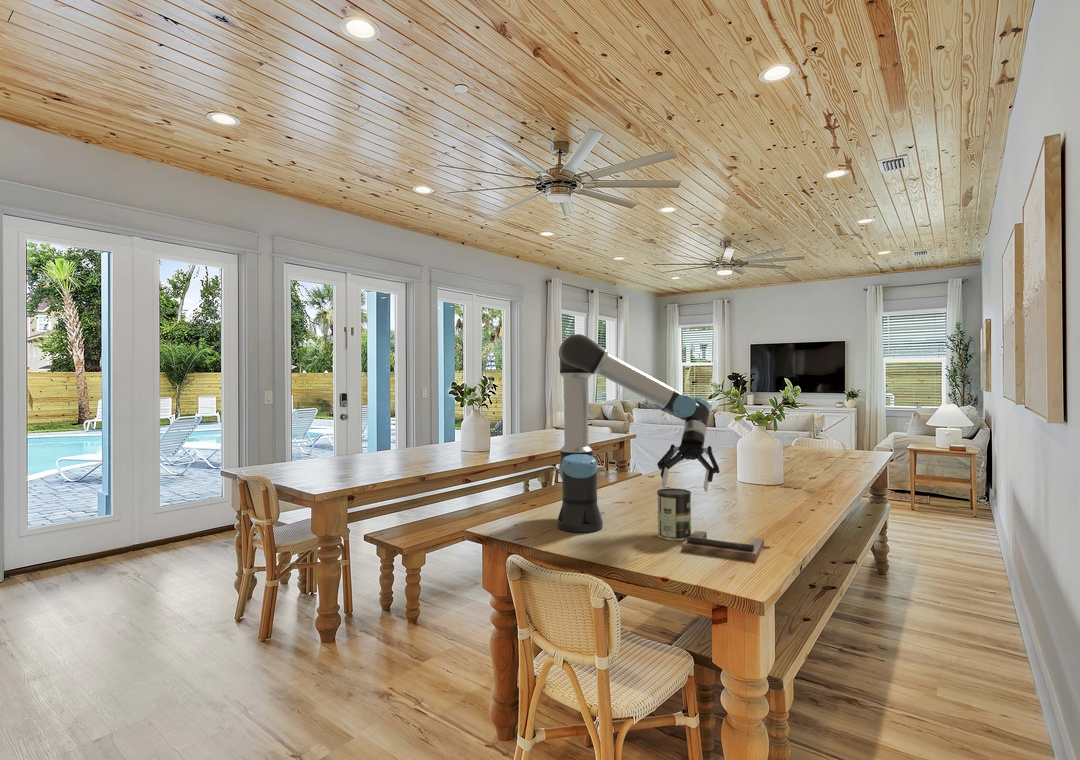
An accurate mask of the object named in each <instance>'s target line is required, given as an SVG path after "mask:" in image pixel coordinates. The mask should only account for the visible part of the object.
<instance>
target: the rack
mask: <svg viewBox="0 0 1080 760" xmlns="http://www.w3.org/2000/svg"><path fill="white" fill-rule="evenodd" d="M707 537H708V535H707V531H704V530H703V531H701V530H694V531H693V532H691V535H690V536H689V537H687V539H686V540H684V541H683V542H682V543H681V551H682V552H685V551H688V552H687V553H693V552H694V553H693V554H700V553H701V555H709V556H715V557H723V558H731V559H737V560H745V561H752V562H757V561H758V558H759V556H760V554H761V553H762V550H763V548H764V546H765V539H764V538H762V537H761V538H760V537H752V536H750V539H749V540H748V542H747V543H742V542H741V543H740V542H733V541H726V540H718V539H710V538H709V539H708V538H707Z"/></svg>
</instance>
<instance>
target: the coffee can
mask: <svg viewBox="0 0 1080 760" xmlns="http://www.w3.org/2000/svg"><path fill="white" fill-rule="evenodd" d="M656 493H657V529H658V531H657V536H658V537H659V538H660V539H662V538H663V540H667V541H673V542H675V541H677V542H680V541H685V540H686V539H687V537H689V536H690V535H691V534H692V516H691V515H692V512H691V511H692V507H691V506H692V505H691V503H692V502H691V501H692V500H691V499H692V498H691V497H692V496H691V495H692V492H691V491H690V490H688V489H683V488H673V487H672V488H670V487H669V488H660V489H657V491H656Z"/></svg>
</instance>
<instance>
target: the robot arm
mask: <svg viewBox="0 0 1080 760" xmlns="http://www.w3.org/2000/svg"><path fill="white" fill-rule="evenodd" d="M558 357H559V374H560V376H562V378H563V379H564V380H563V381H564V382H563V386H564V387H563V388H564V389H563V398H564V399H563V400H564V401H563V402H564V403H563V405H564V408H563V411H564V414H563V416H564V418H563V421H564V423H563V425H564V426H563V427H564V429H563V430H564V431H563V432H564V433H563V434H564V441H563V442H564V445H563V446H562V447H560V449H559V458H560V460H559V468H558V471H559V476H560V478H561V483H562V484H561V485H562V487H561V490H562V491H561V493H562V494H561V495H562V501H561V506H560V511H559V513H558V517H557V523H556V524H557V526H556V527H557V528H558V529H559V530H560V531H564V532H570V533H592V532H596V531H597V532H598V531H600V530H601V529H603V528H604V527H603V524H604V523H603V518H602V515H601V512H600V508H599V504H598V464H597V459H596V458H595V457H594V456H593V449H592V448H591V446H590V445H589V378H590V377H591V376H592V375H596V374H597V375H600V376H602V377H603V378H605V379H607V380H609V381H611V382H613V383H615V384H617V385H618V386H620V387H622V388H624V389H626V390H628V391H630V392H632V393H634V394H635V395H638V396H639V397H641V398H643V399H645V400H647V401H649V402H651V403H653V404H654V407H655V408H656V409H658V410H660V411H661V412H664V413H666V414H669V415H671V416H673V417H676V418H678V419H680V420H682V421H684V422H685V423H684V428H683V431H682V437H681V442H680V445H679V446H677V445H675V444H671V445H670V447H669V449H668V450H667V452H666V453H665V454H664V455H663V456H662V458H661V459H659V461H658V462H657V463H656V464H657V469H658V470H660V478H661V479H662V480H661V486H662V489H666V488H667V487H666V486H667V482H668V477H669V470H670V469H671V468H673V467H674V466H675V465H677V464H678V463H680V461H683V460H686V461H687V460H692V461H695V460H697V461H698V462H699V463H701V465H702V466H703V467H704V468H705V469H706V470H705V476H704V481H703V482H704V483H703V490H704V492H705V493H706V492H708V490H709V484H710V483H712V482H713V478H714V474H720V468H719V465H718V463H717V461H716V459H715V456H714V454H713V449H712V446H711V445H708V446H707V447H704V444H705V441H706V440H705V439H706V434H707V428H708V427H707V426H708V421H709V417H710V411H711V410H710V408H711V405H710V403H709V402H708V401H707V400H706V399H705V398H702V397H701V398H699V397H695V398H693V397H692V396H690V395H689V394H687V393H686V394H685V393H683V392H680V391H679V390H676V389H675V388H673V387H671V386H669V385H667V384H666V383H664V382H662V381H661V380H658V379H657V378H655V377H653V376H652V375H649V374H647V373H645V372H644V371H642V370H641V369H638V368H637V367H634V366H633V365H631V364H628V363H627V362H626V361H623V360H621V359H620V358H617V357H616V356H613V355H611V354H610V353H609V351H608V349H607V348H606V347H603V346H602V345H600V344H598V343H597V342H595V341H594V340H592V339H591V338H590V337H588V336H586V335H583V334H580V333H579V334H572V335H570V336H567V338H566V339H565V340H563V342H561V345H560V347H559V349H558ZM704 453H705V454H706V456H708V458H709V460H710V462H711V464H710V463H709V462H708V461H707V460H706V459H705V457H704V456H703V454H704ZM711 465H712V466H711Z"/></svg>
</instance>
